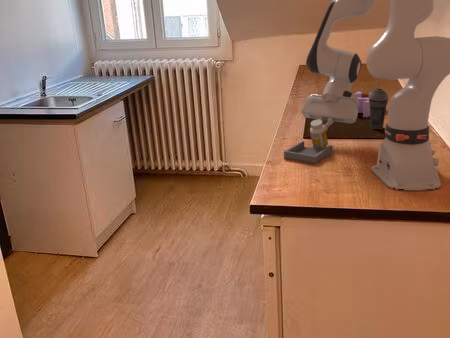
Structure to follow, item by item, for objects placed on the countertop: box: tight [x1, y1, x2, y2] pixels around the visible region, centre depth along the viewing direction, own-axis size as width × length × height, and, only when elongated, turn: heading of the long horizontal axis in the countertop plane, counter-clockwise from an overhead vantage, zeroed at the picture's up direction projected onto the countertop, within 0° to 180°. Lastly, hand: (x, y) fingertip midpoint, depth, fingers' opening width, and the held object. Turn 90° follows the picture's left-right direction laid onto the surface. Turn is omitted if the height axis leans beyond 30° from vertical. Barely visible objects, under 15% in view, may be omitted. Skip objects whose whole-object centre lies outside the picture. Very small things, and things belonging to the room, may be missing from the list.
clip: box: [355, 91, 371, 118], centre depth 206 cm, size 20×12×7 cm, turn 158°
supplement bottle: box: [309, 119, 329, 150], centre depth 162 cm, size 5×5×10 cm
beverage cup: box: [368, 78, 389, 130], centre depth 179 cm, size 7×7×20 cm
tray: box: [283, 140, 334, 165], centre depth 158 cm, size 13×12×2 cm
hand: (321, 129), depth 164 cm, fingers closed, pressing on supplement bottle
